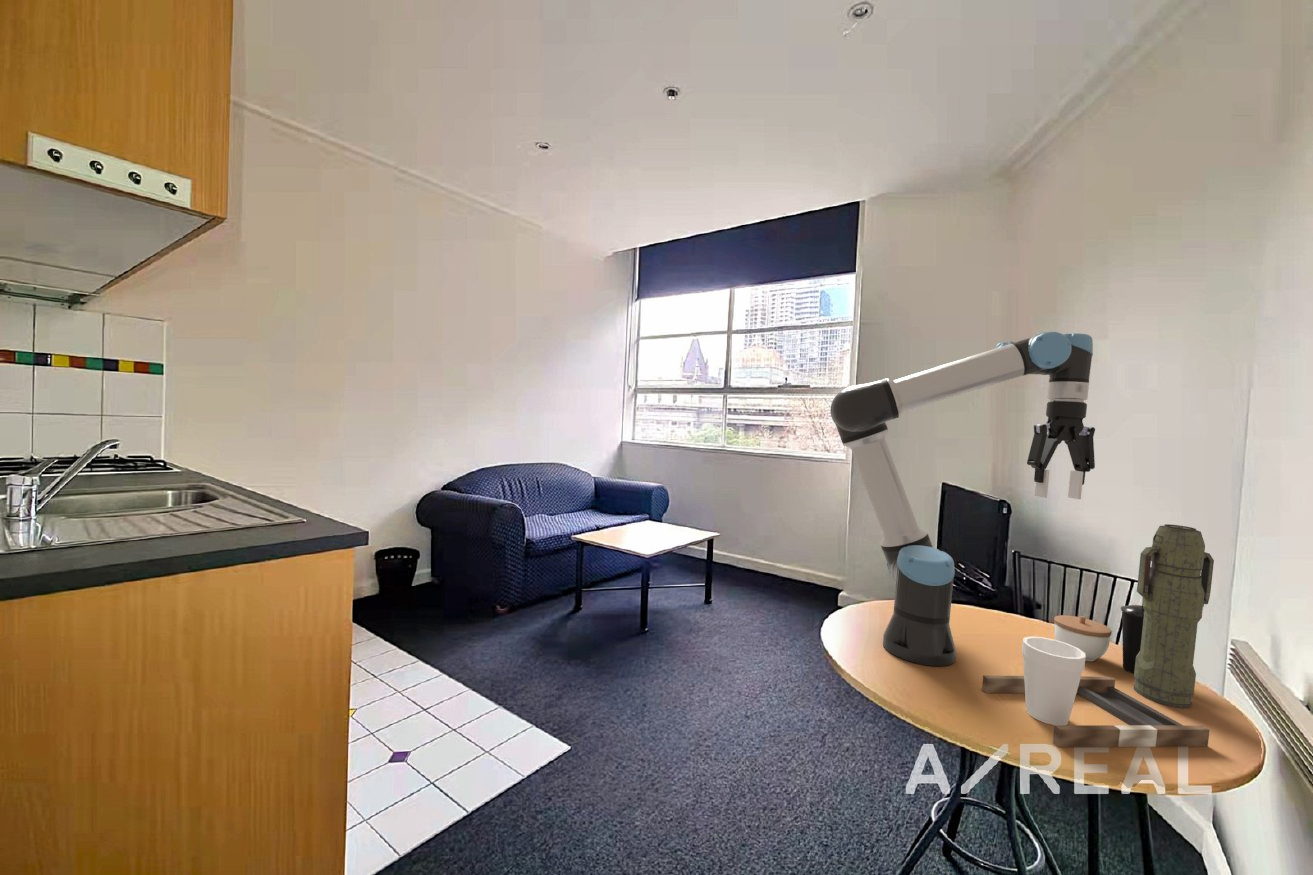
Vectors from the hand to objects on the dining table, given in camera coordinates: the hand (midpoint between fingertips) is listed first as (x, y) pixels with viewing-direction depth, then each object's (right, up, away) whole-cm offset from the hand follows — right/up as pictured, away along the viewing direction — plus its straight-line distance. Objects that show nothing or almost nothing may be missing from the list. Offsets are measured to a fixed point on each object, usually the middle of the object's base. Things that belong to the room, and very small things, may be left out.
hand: (1057, 497), depth 128 cm
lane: (-15, -38, -27) cm, 49 cm away
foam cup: (-23, -38, -28) cm, 52 cm away
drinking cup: (+13, -39, -6) cm, 41 cm away
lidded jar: (+6, -38, +1) cm, 38 cm away
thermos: (+8, -39, -17) cm, 43 cm away
